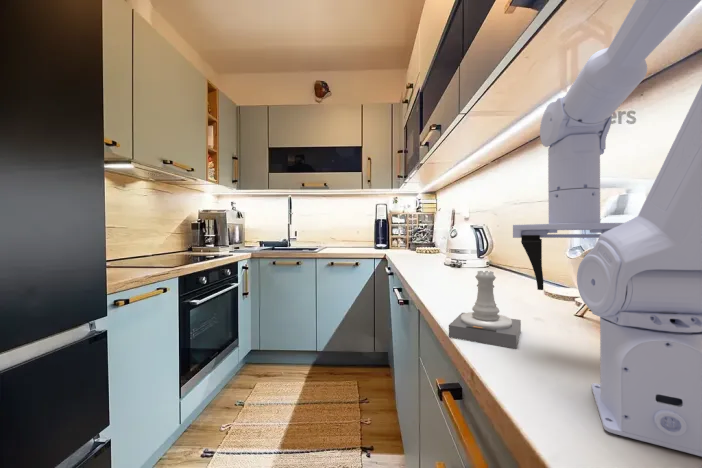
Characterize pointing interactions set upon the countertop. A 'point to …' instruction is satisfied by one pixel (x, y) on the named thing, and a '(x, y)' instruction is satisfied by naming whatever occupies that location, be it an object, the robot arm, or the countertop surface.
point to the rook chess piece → (485, 298)
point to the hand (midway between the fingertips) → (573, 291)
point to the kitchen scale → (486, 330)
